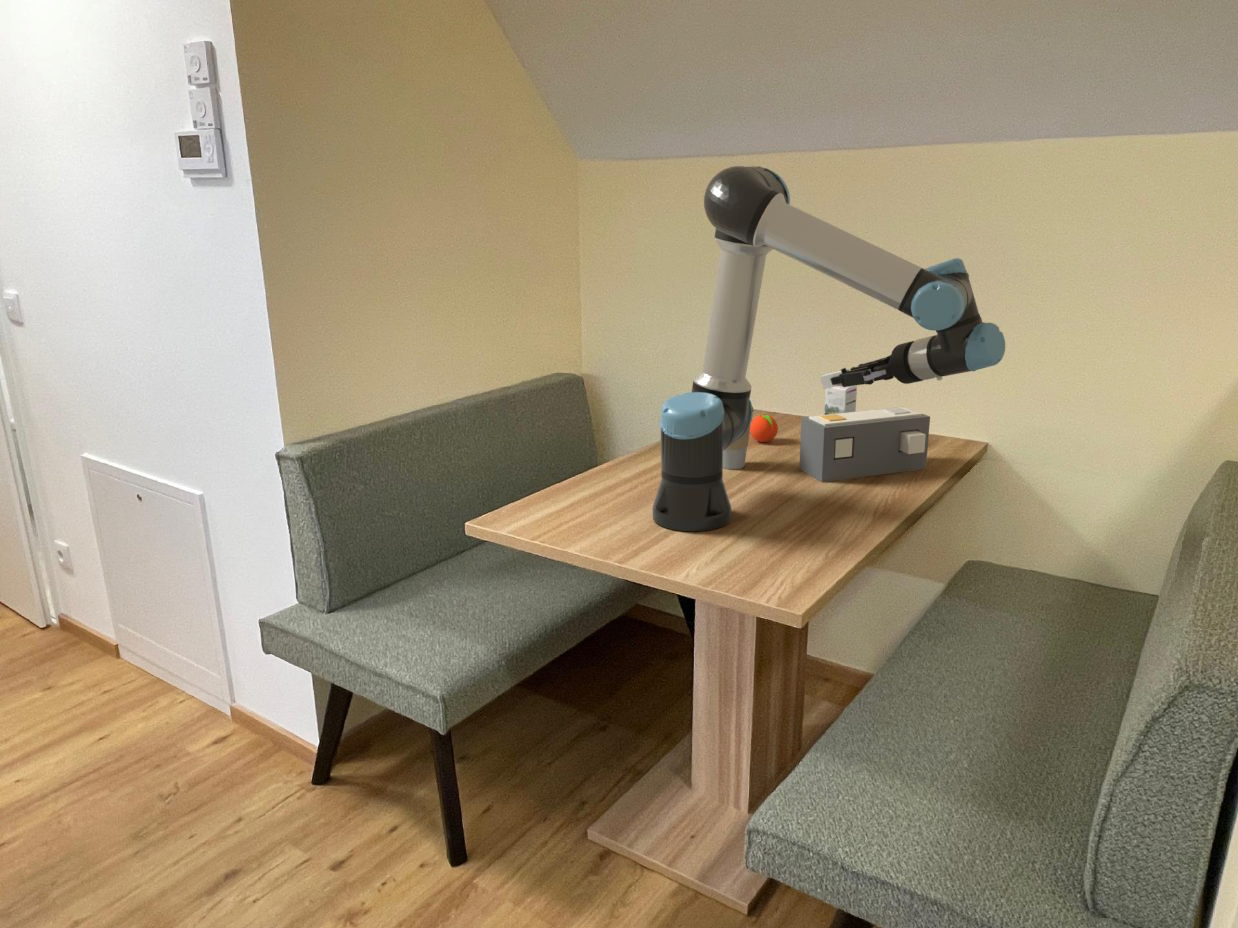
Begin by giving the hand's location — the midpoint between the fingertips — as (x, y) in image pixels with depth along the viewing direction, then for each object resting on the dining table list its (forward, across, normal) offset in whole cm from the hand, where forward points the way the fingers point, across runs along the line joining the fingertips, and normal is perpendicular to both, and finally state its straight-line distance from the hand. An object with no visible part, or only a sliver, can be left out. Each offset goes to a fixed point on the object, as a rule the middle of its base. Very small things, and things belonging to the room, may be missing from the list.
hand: (824, 381), depth 181 cm
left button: (+8, +5, -17) cm, 19 cm away
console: (+9, +12, -23) cm, 28 cm away
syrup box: (+26, +25, -20) cm, 41 cm away
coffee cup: (+28, -7, -13) cm, 32 cm away
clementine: (+37, +13, -14) cm, 42 cm away
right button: (0, +18, -22) cm, 28 cm away
